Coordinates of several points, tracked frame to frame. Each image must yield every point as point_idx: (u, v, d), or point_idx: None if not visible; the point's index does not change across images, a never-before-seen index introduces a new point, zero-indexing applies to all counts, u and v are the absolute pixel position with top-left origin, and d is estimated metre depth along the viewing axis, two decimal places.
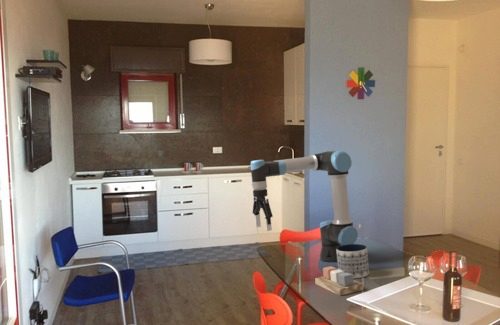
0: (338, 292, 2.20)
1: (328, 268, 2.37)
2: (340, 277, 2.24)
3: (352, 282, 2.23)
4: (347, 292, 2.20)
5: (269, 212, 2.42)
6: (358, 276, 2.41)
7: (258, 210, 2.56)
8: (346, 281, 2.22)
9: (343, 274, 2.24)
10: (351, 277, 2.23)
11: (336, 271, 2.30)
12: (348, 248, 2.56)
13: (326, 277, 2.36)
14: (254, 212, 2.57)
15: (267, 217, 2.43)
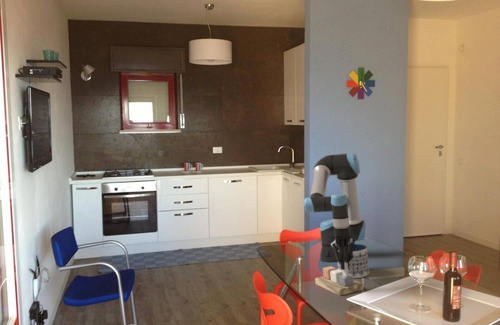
0: (338, 292, 2.20)
1: (328, 268, 2.37)
2: (340, 279, 2.24)
3: (352, 284, 2.23)
4: (347, 292, 2.20)
5: (336, 257, 2.22)
6: (358, 276, 2.41)
7: (345, 254, 2.24)
8: (346, 283, 2.22)
9: (343, 276, 2.24)
10: (351, 279, 2.23)
11: (336, 271, 2.30)
12: None
13: (326, 277, 2.36)
14: None
15: None
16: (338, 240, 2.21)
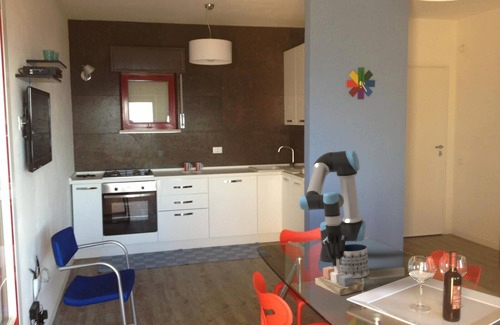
0: (338, 292, 2.20)
1: (328, 268, 2.37)
2: (340, 279, 2.24)
3: (352, 284, 2.23)
4: (347, 292, 2.20)
5: (328, 254, 2.29)
6: (358, 276, 2.41)
7: (337, 250, 2.30)
8: (346, 283, 2.22)
9: (343, 276, 2.24)
10: (351, 279, 2.23)
11: (336, 272, 2.30)
12: (348, 248, 2.56)
13: (326, 277, 2.36)
14: None
15: None
16: (330, 237, 2.28)
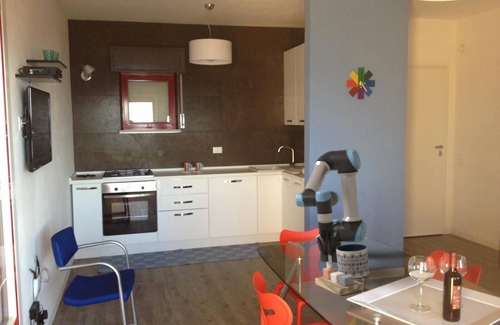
0: (338, 292, 2.20)
1: (328, 268, 2.37)
2: (340, 279, 2.24)
3: (352, 284, 2.23)
4: (347, 292, 2.20)
5: (321, 250, 2.35)
6: (358, 276, 2.41)
7: (329, 247, 2.37)
8: (346, 283, 2.22)
9: (343, 276, 2.24)
10: (351, 279, 2.23)
11: (336, 273, 2.30)
12: (348, 248, 2.56)
13: (326, 277, 2.36)
14: None
15: None
16: (322, 234, 2.34)
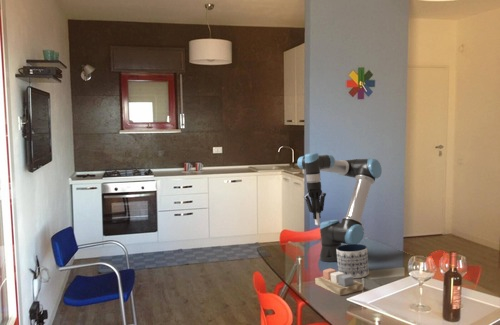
0: (338, 292, 2.20)
1: (328, 270, 2.37)
2: (340, 279, 2.24)
3: (352, 284, 2.23)
4: (347, 292, 2.20)
5: (309, 208, 2.54)
6: (358, 276, 2.41)
7: (317, 205, 2.56)
8: (346, 283, 2.22)
9: (343, 276, 2.24)
10: (351, 279, 2.23)
11: (336, 273, 2.30)
12: (348, 248, 2.56)
13: None
14: None
15: None
16: (311, 193, 2.54)
